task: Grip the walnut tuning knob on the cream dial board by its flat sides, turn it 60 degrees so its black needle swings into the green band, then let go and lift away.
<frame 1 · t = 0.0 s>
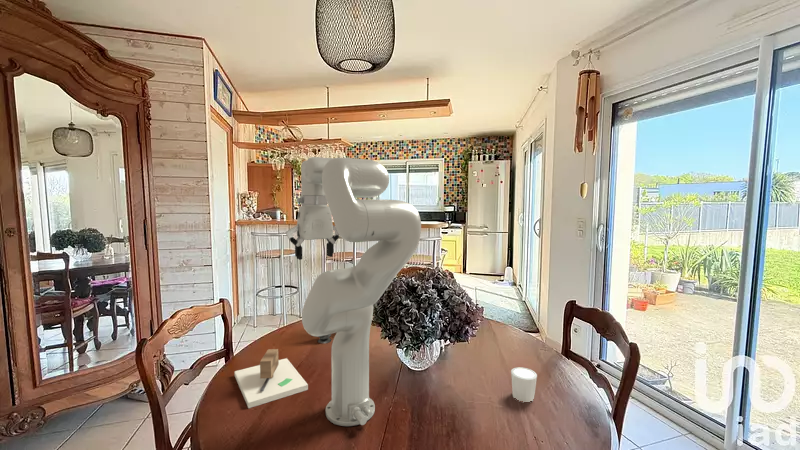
hand: (314, 257, 107), 37 cm above the table, tool pointing down, fingers open, 9 cm apart
plastic bottle: (358, 330, 145), on the table
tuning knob: (267, 369, 101), point 5 cm above the table, hinge at 0.0°
dial board: (270, 382, 103), on the table
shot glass: (523, 397, 97), on the table
salt shaker: (324, 341, 134), on the table
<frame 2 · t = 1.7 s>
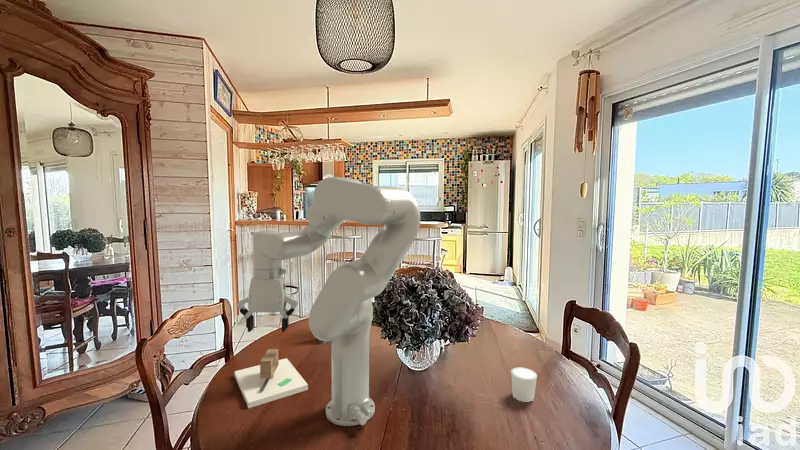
hand: (267, 330, 103), 16 cm above the table, tool pointing down, fingers open, 9 cm apart
nothing on the table moved.
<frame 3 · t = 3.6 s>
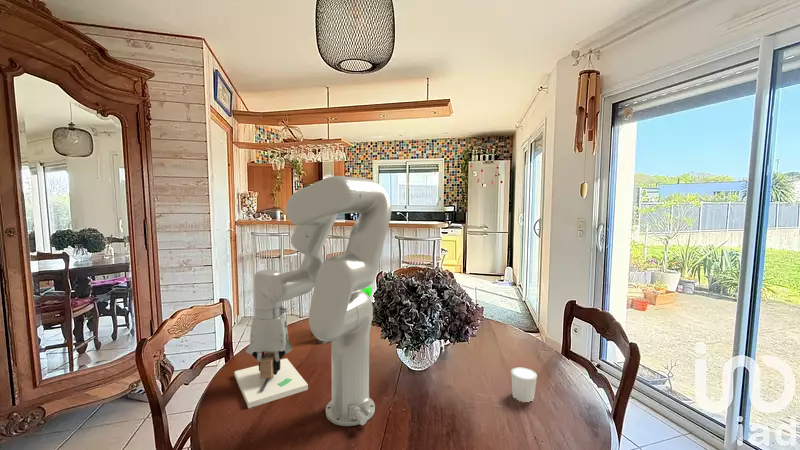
hand: (269, 372, 103), 3 cm above the table, tool pointing down, fingers closed on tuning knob, 3 cm apart
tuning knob: (267, 369, 101), point 5 cm above the table, hinge at 0.0°, touching gripper
everything else where it was.
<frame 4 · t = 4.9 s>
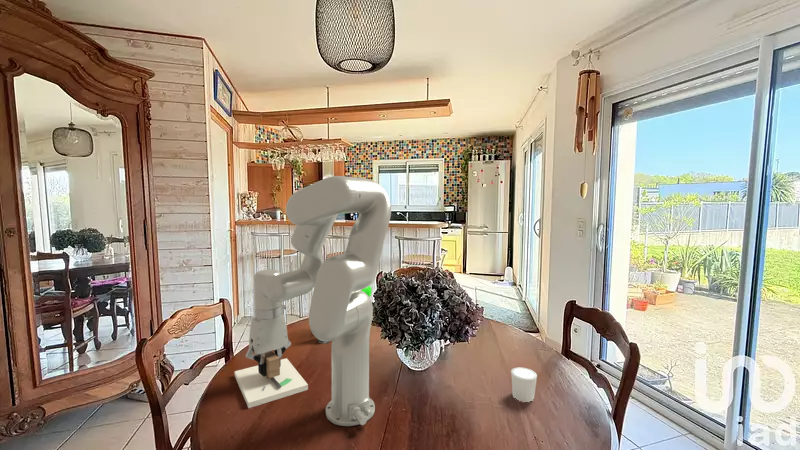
hand: (269, 372, 103), 3 cm above the table, tool pointing down, fingers closed on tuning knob, 3 cm apart
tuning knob: (272, 368, 102), point 5 cm above the table, hinge at 35.2°, touching gripper
everything else where it was.
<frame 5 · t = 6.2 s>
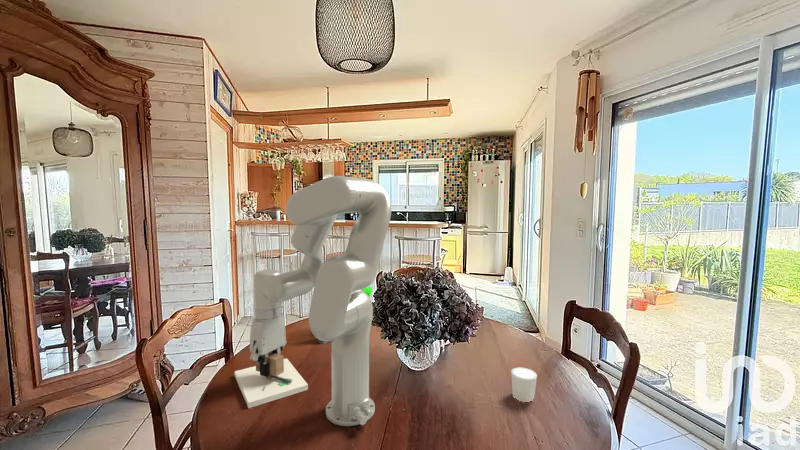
hand: (269, 372, 103), 3 cm above the table, tool pointing down, fingers closed on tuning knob, 3 cm apart
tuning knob: (274, 367, 102), point 5 cm above the table, hinge at 60.8°, touching gripper
everything else where it was.
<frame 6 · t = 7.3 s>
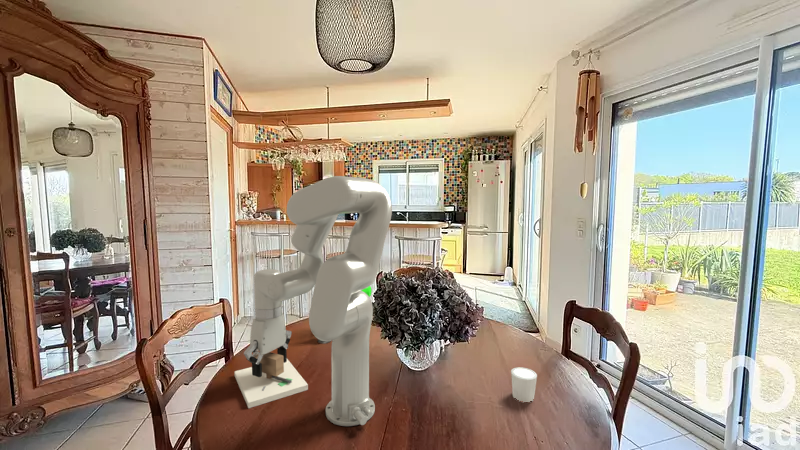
hand: (270, 368, 103), 4 cm above the table, tool pointing down, fingers open, 9 cm apart
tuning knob: (274, 367, 102), point 5 cm above the table, hinge at 60.4°
everything else where it was.
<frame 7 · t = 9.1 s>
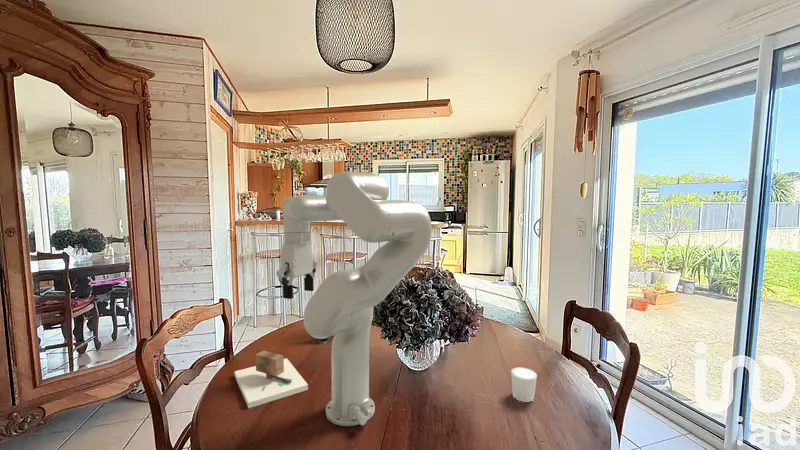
hand: (299, 294, 105), 26 cm above the table, tool pointing down, fingers open, 9 cm apart
nothing on the table moved.
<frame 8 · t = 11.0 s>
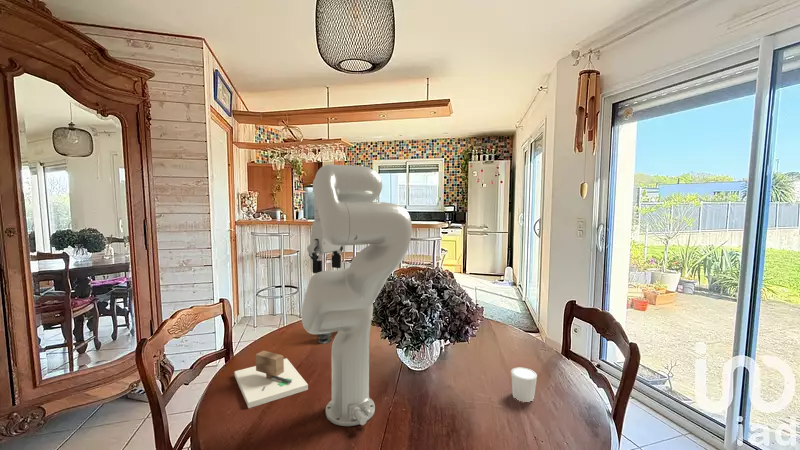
hand: (327, 270, 109), 32 cm above the table, tool pointing down, fingers open, 9 cm apart
nothing on the table moved.
at the end: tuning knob at +60° (first picture: +0°); the gripper is holding nothing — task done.
